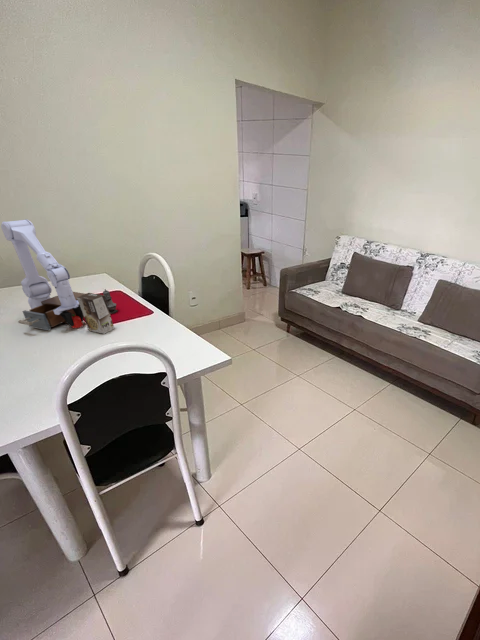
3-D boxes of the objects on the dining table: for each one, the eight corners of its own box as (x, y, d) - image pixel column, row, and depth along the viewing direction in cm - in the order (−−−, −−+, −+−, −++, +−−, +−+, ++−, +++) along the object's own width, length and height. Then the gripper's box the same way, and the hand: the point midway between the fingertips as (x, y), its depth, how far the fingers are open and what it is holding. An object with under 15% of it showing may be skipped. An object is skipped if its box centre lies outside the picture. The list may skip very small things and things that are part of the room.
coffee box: (115, 328, 150) (105, 295, 142) (103, 334, 145) (92, 299, 136) (99, 325, 153) (88, 292, 144) (88, 330, 147) (76, 296, 139)
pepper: (69, 328, 149) (65, 316, 146) (74, 323, 153) (70, 312, 150) (80, 328, 149) (75, 316, 146) (85, 324, 153) (80, 312, 150)
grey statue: (113, 314, 163) (106, 291, 157) (102, 313, 164) (95, 290, 157) (120, 310, 168) (114, 287, 161) (110, 308, 169) (103, 286, 162)
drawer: (38, 334, 141) (31, 319, 137) (18, 330, 143) (10, 315, 139) (76, 317, 157) (70, 303, 153) (57, 314, 159) (52, 300, 155)
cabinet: (69, 323, 153) (61, 305, 148) (48, 319, 156) (40, 301, 151) (95, 311, 166) (89, 294, 161) (75, 307, 168) (69, 291, 163)
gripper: (58, 302, 136) (69, 331, 143) (86, 291, 148) (95, 318, 155) (45, 299, 138) (57, 328, 145) (74, 289, 149) (84, 316, 157)
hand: (76, 323), depth 150 cm, fingers closed on pepper, 4 cm apart
